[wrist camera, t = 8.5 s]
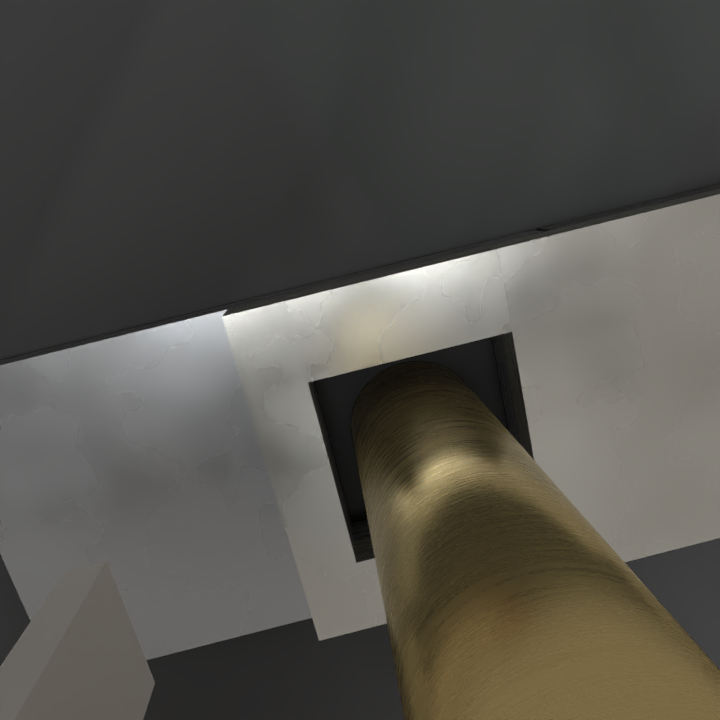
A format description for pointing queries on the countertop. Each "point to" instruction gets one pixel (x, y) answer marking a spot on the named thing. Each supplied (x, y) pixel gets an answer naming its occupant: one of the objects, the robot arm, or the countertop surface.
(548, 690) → the pin
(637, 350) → the light grey flat block
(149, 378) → the lower link
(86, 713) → the robot arm
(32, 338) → the countertop surface
